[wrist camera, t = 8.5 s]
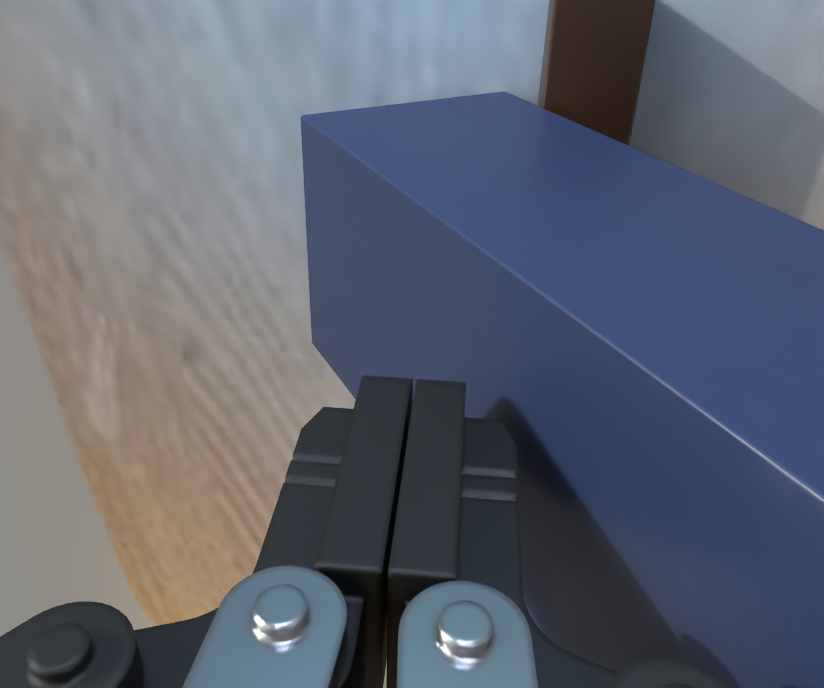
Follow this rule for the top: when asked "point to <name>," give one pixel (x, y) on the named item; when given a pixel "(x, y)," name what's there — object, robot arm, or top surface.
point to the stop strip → (595, 62)
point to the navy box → (597, 366)
